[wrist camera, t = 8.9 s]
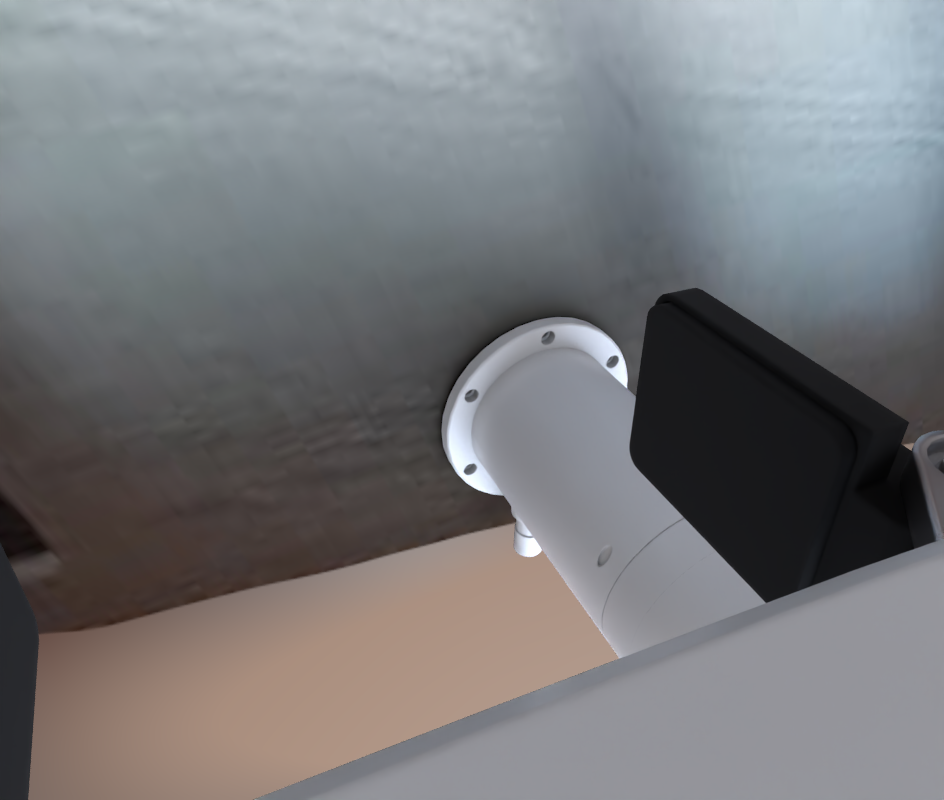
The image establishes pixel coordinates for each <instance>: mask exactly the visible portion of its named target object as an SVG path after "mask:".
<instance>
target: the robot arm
mask: <svg viewBox="0 0 944 800" xmlns="http://www.w3.org/2000/svg"><path fill="white" fill-rule="evenodd" d="M627 380H628V376H627V369H626V363H625V360H624V358H623V355H622V353H621V350H620V349H619V348H618V346H617V345H616V344H615V342H614V341H613V340H612V339H611V338H610V337H609V336H608V335H607V334H605V333H604V332H603V331H602V330H601V329H600V328H598V327H596V326H594V325H592V324H591V323H589V322H587V321H583V320H579V319H576V318H571V317H552V318H546V319H540V320H535V321H532V322H530V323H527V324H524V325H521V326H518V327H516V328H515V329H513V330H511V331H509V332H507V333H505V334H504V335H502V336H500V337H499V338H497V339H496V340H495V341H493V342H492V343H491V344H489V345H488V346H487V347H485V348H484V349H483V350H482V351H481V352H480V353H479V354H478V355H477V356H476V357H475V358H474V359H473V360H472V361H471V362H470V363H469V364H468V366H467V367H466V369H465V370H464V371H463V373H462V374H461V375H460V377H459V378H458V380H457V381H456V383H455V385H454V387H453V389H452V391H451V393H450V395H449V397H448V400H447V403H446V407H445V410H444V413H443V420H442V430H441V433H442V441H443V448H444V450H445V453H446V455H447V458H448V460H449V462H450V463H451V465H452V466H453V468H454V469H455V471H456V473H457V474H458V475H459V476H460V477H461V478H462V479H463V480H464V481H465V482H466V483H467V484H469V485H470V486H472V487H474V488H475V489H477V490H479V491H483V492H486V493H489V494H493V495H504V497H505V498H506V499H507V501H508V502H509V504H510V505H511V512H512V514H513V517H514V518H516V524H515V532H514V549H515V551H516V552H517V553H518V554H520V555H522V556H526V557H532V556H536V555H537V554H539V553H540V552H541V549H542V550H543V551H544V553H545V554H546V556H547V557H548V558H549V560H550V561H551V563H552V564H553V565H554V567H555V568H556V570H557V571H558V573H559V574H560V575H561V577H562V578H563V580H564V581H565V582H566V584H567V585H568V587H569V588H570V589H571V591H572V592H573V594H574V595H575V597H576V598H577V599H578V601H579V602H580V603H581V605H582V606H583V608H584V609H585V611H586V612H587V613H588V615H589V616H590V618H591V619H592V620H593V622H594V623H595V625H596V626H597V628H598V629H599V630H600V632H601V633H602V635H603V636H604V637H605V639H606V640H607V641H608V643H609V644H610V646H611V647H612V648H613V650H614V651H615V652H616V654H617V655H618V657H619V658H620V659H617V660H614V661H612V662H609V663H606V664H604V665H601V666H599V667H596V668H593V669H591V670H588V671H586V672H583V673H580V674H578V675H575V676H572V677H570V678H567V679H565V680H562V681H559V682H557V683H554V684H552V685H549V686H546V687H544V688H541V689H538V690H536V691H533V692H531V693H528V694H525V695H523V696H520V697H517V698H515V699H512V700H510V701H507V702H504V703H502V704H499V705H497V706H494V707H491V708H489V709H486V710H484V711H481V712H478V713H476V714H473V715H470V716H468V717H466V718H463V719H460V720H458V721H455V722H452V723H450V724H447V725H445V726H442V727H440V728H437V729H434V730H432V731H429V732H427V733H424V734H422V735H419V736H416V737H414V738H411V739H408V740H406V741H403V742H401V743H398V744H396V745H393V746H391V747H388V748H385V749H383V750H380V751H378V752H375V753H372V754H370V755H367V756H365V757H362V758H359V759H357V760H354V761H352V762H349V763H347V764H344V765H341V766H339V767H336V768H334V769H331V770H328V771H326V772H323V773H321V774H318V775H316V776H313V777H311V778H308V779H305V780H303V781H300V782H298V783H295V784H292V785H290V786H287V787H285V788H282V789H279V790H277V791H274V792H272V793H269V794H267V795H264V796H261V797H259V798H256V799H254V800H944V430H942V431H933V432H929V433H927V434H925V435H922V436H920V437H919V438H918V440H917V441H916V442H915V443H914V446H913V448H912V451H911V450H909V449H908V448H906V447H905V446H903V445H902V444H901V442H902V439H903V437H904V434H905V431H906V429H907V426H908V424H909V422H908V421H906V420H904V419H903V418H901V417H900V416H898V415H897V414H895V413H894V412H892V411H890V410H889V409H887V408H886V407H884V406H883V405H881V404H879V403H878V402H876V401H875V400H873V399H872V398H870V397H869V396H867V395H865V394H864V393H862V392H861V391H859V390H858V389H856V388H854V387H853V386H851V385H850V384H848V383H847V382H845V381H844V380H842V379H840V378H839V377H837V376H836V375H834V374H833V373H831V372H829V371H828V370H826V369H825V368H823V367H822V366H820V365H819V364H817V363H815V362H814V361H812V360H811V359H809V358H808V357H806V356H804V355H803V354H801V353H800V352H798V351H797V350H795V349H794V348H792V347H790V346H789V345H787V344H786V343H784V342H783V341H781V340H779V339H778V338H776V337H775V336H773V335H772V334H770V333H769V332H767V331H765V330H764V329H762V328H761V327H759V326H758V325H756V324H754V323H753V322H751V321H750V320H748V319H747V318H745V317H744V316H742V315H740V314H739V313H737V312H736V311H734V310H733V309H731V308H730V307H728V306H726V305H725V304H723V303H722V302H720V301H719V300H717V299H715V298H714V297H712V296H711V295H709V294H708V293H706V292H705V291H703V290H701V289H698V288H692V289H687V290H682V291H677V292H673V293H668V294H663V295H662V296H660V297H659V298H658V300H657V302H656V304H655V306H653V307H652V308H651V309H650V310H649V312H648V316H647V322H646V329H645V336H644V343H643V350H642V358H641V365H640V372H639V379H638V386H637V394H636V396H635V395H633V394H632V393H631V392H630V391H629V390H628V389H627ZM38 645H39V635H38V628H37V622H36V619H35V615H34V613H33V610H32V608H31V606H30V604H29V602H28V600H27V598H26V596H25V594H24V592H23V589H22V587H21V585H20V583H19V581H18V579H17V577H16V575H15V573H14V571H13V569H12V567H11V564H10V562H9V560H8V558H7V556H6V554H5V552H4V550H3V548H2V546H1V544H0V800H28V793H29V778H30V763H31V748H32V733H33V719H34V704H35V703H34V702H35V689H36V675H37V660H38Z"/></svg>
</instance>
